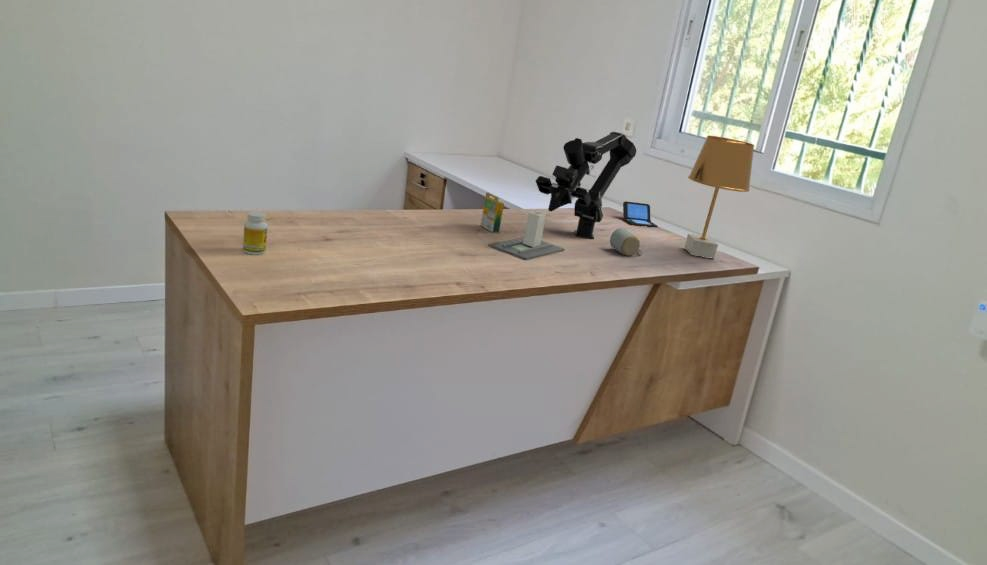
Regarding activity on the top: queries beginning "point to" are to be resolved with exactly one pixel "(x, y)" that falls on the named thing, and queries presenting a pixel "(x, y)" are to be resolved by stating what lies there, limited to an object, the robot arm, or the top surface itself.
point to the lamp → (719, 180)
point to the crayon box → (492, 213)
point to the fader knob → (534, 229)
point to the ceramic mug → (625, 242)
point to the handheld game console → (637, 214)
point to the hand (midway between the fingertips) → (549, 210)
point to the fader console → (525, 248)
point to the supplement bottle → (255, 234)
